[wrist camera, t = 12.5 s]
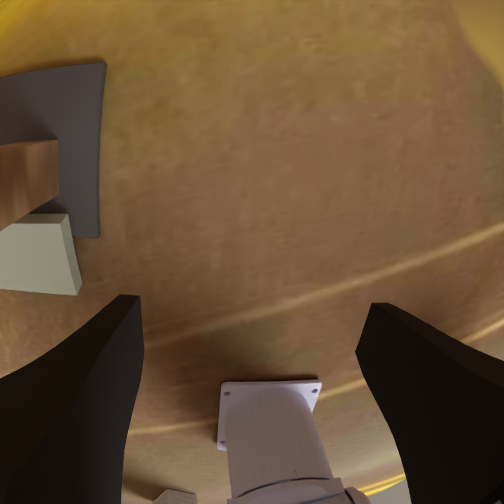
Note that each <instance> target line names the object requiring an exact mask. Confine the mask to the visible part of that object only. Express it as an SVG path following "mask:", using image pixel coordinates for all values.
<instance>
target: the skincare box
mask: <svg viewBox="0 0 504 504" xmlns="http://www.w3.org/2000/svg"><path fill="white" fill-rule="evenodd" d="M152 504H197V495H195V494H190V493H185V492H180V491H176V490H171V489H166V490H165V491H164V492H163V493H162V494H161V495H160V496H159V497H158V498H156V499H155V500H154V501H153V502H152Z"/></svg>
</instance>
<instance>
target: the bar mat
mask: <svg viewBox="0 0 504 504" xmlns="http://www.w3.org/2000/svg"><path fill="white" fill-rule="evenodd" d="M106 66H107V64H106V63H92V64H81V65H72V66H63V67H56V68H49V69H42V70H36V71H31V72H25V73H20V74H15V75H10V76H5V77H1V78H0V146H2V145H7V144H12V143H18V142H29V141H42V140H59V195H58V196H56V197H54V198H53V199H51V200H49V201H48V202H46V203H44V204H42V205H41V206H39V207H38V208H36V209H34V210H33V211H31V212H29V213H28V214H68V217H69V223H70V228H71V234H72V237H85V238H98V237H99V236H100V219H99V149H100V128H101V114H102V102H103V91H104V82H105V74H106Z"/></svg>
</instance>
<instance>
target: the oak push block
mask: <svg viewBox="0 0 504 504" xmlns="http://www.w3.org/2000/svg"><path fill="white" fill-rule="evenodd" d="M58 195H59V140H42V141H29V142H18V143H12V144H7V145H2V146H0V231H2V230H3V229H5V228H6V227H8V226H9V225H11V224H12V223H14V222H15V221H17V220H18V219H20V218H21V217H23V216H25V215H26V214H28V213H29V212H31V211H33V210H34V209H36V208H38V207H39V206H41V205H42V204H44V203H46V202H48V201H49V200H51V199H53V198H54V197H56V196H58Z"/></svg>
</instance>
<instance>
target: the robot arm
mask: <svg viewBox="0 0 504 504" xmlns="http://www.w3.org/2000/svg"><path fill="white" fill-rule="evenodd" d="M355 353H356V356H357V359H358V362H359V365H360V368H361V371H362V374H363V376H364V378H365V381H366V383H367V385H368V386H369V388H370V390H371V392H372V394H373V396H374V398H375V400H376V402H377V404H378V406H379V408H380V410H381V412H382V414H383V416H384V418H385V420H386V422H387V424H388V426H389V428H390V430H391V432H392V435H393V437H394V440H395V443H396V446H397V448H398V451H399V454H400V457H401V461H402V464H403V468H404V472H405V475H406V479H407V483H408V488H409V493H410V498H411V503H412V504H504V361H503V360H500V359H497V358H495V357H492V356H490V355H487V354H485V353H483V352H480V351H478V350H476V349H474V348H471V347H469V346H467V345H465V344H463V343H461V342H460V341H458V340H456V339H454V338H452V337H450V336H448V335H446V334H445V333H443V332H441V331H439V330H438V329H436V328H434V327H432V326H431V325H429V324H427V323H425V322H424V321H422V320H420V319H418V318H417V317H415V316H413V315H411V314H410V313H408V312H406V311H404V310H402V309H400V308H398V307H396V306H394V305H392V304H389V303H371V307H370V310H369V313H368V316H367V319H366V322H365V325H364V328H363V331H362V334H361V337H360V340H359V343H358V345H357V348H356V351H355ZM143 358H144V341H143V330H142V317H141V303H140V296H135V295H122V294H120V295H119V296H117V297H116V298H115V299H114V300H112V301H111V302H110V303H109V304H108V305H107V306H106V307H104V308H103V309H102V310H101V311H100V312H99V313H97V314H96V315H95V316H94V317H93V318H91V319H90V320H89V321H88V322H87V323H86V324H84V325H83V326H82V327H81V328H79V329H78V330H77V331H75V332H74V333H73V334H72V335H70V336H69V337H68V338H66V339H65V340H64V341H62V342H61V343H60V344H58V345H57V346H56V347H54V348H53V349H51V350H50V351H48V352H47V353H45V354H44V355H42V356H41V357H39V358H37V359H36V360H34V361H32V362H31V363H29V364H27V365H26V366H24V367H22V368H20V369H18V370H16V371H14V372H12V373H10V374H8V375H6V376H4V377H2V378H0V504H121V488H122V471H123V459H124V449H125V443H126V438H127V433H128V429H129V425H130V421H131V416H132V412H133V408H134V404H135V400H136V396H137V392H138V388H139V384H140V380H141V374H142V366H143ZM321 387H322V383H321V381H320V380H317V379H315V380H298V381H273V382H225V383H223V384H222V385H221V393H220V407H219V421H218V435H217V449H219V450H227V456H228V466H229V475H230V484H231V493H232V499H228V500H227V504H371V503H370V501H369V499H368V498H367V496H366V495H365V494H364V493H363V492H361V491H359V490H357V489H356V488H354V487H348V488H345V489H344V487H343V485H342V482H341V479H340V478H335V479H334V477H333V474H332V471H331V468H330V465H329V462H328V460H327V457H326V454H325V451H324V448H323V445H322V442H321V439H320V436H319V433H318V430H317V427H316V424H315V422H314V419H313V416H312V412H313V409H314V406H315V404H316V401H317V398H318V395H319V393H320V390H321ZM313 389H314V390H313Z"/></svg>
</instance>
